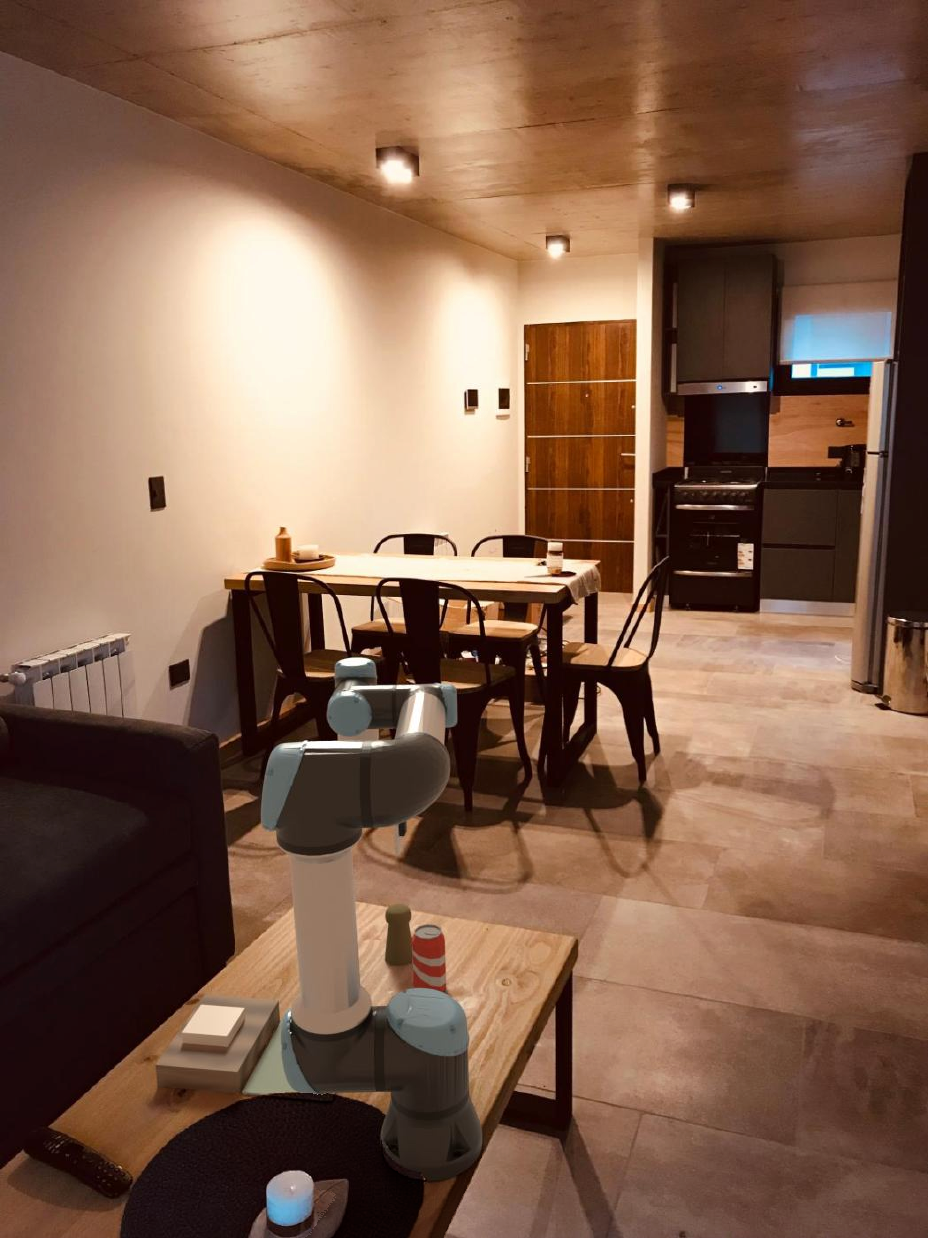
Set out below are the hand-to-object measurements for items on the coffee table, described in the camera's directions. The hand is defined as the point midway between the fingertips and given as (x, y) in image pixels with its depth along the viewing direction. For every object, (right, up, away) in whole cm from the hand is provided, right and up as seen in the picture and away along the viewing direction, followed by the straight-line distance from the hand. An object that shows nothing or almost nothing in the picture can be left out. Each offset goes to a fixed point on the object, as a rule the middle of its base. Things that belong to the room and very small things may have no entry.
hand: (363, 849), depth 192 cm
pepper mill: (+6, -24, +12) cm, 28 cm away
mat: (-8, -31, -19) cm, 37 cm away
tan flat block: (-23, -31, -16) cm, 42 cm away
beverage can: (+12, -27, +1) cm, 29 cm away
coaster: (-24, -27, -17) cm, 40 cm away
